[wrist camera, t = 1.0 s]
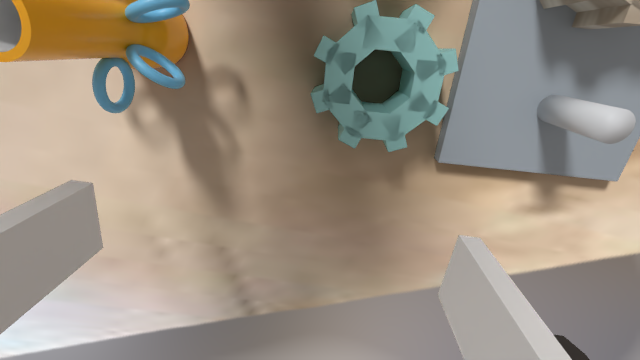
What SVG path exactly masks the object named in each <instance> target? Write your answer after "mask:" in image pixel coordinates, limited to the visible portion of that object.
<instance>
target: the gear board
mask: <svg viewBox="0 0 640 360" xmlns="http://www.w3.org/2000/svg"><path fill="white" fill-rule="evenodd" d="M576 13H577V12H575V11H574V10H573V9H571V8H570V7H568V6H567V5H562V6H557V7H551V8H546V9H544V8H543V6H542V4H541V2H540V0H473V2H472V6H471V10H470V14H469V18H468V22H467V26H466V30H465V34H464V38H463V42H462V46H461V50H460V54H459V58H458V70H459V71H456V72H455V75H454V79H453V83H452V87H451V91H450V95H449V99H448V103H447V107H448V108H449V109H448V111H447V112H446V114H445V115H444V119H443V123H442V127H441V131H440V135H439V139H438V144H437V148H436V152H435V156H434V158H435V159H436V160H437V161H438V162H439V163H448V164H458V165H467V166H477V167H486V168H496V169H505V170H515V171H524V172H533V173H543V174H552V175H562V176H571V177H581V178H590V179H599V180H609V181H618V179H619V177H620V175H621V173H622V171H623V169H624V167H625V165H626V163H627V161H628V159H629V157H630V155H631V153H632V151H633V149H634V147H635V145H636V143H637V141H638V139H639V137H640V26H629V27H615V28H602V29H584V28H574V27H572V24H573V22H574V19H575V16H576Z"/></svg>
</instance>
